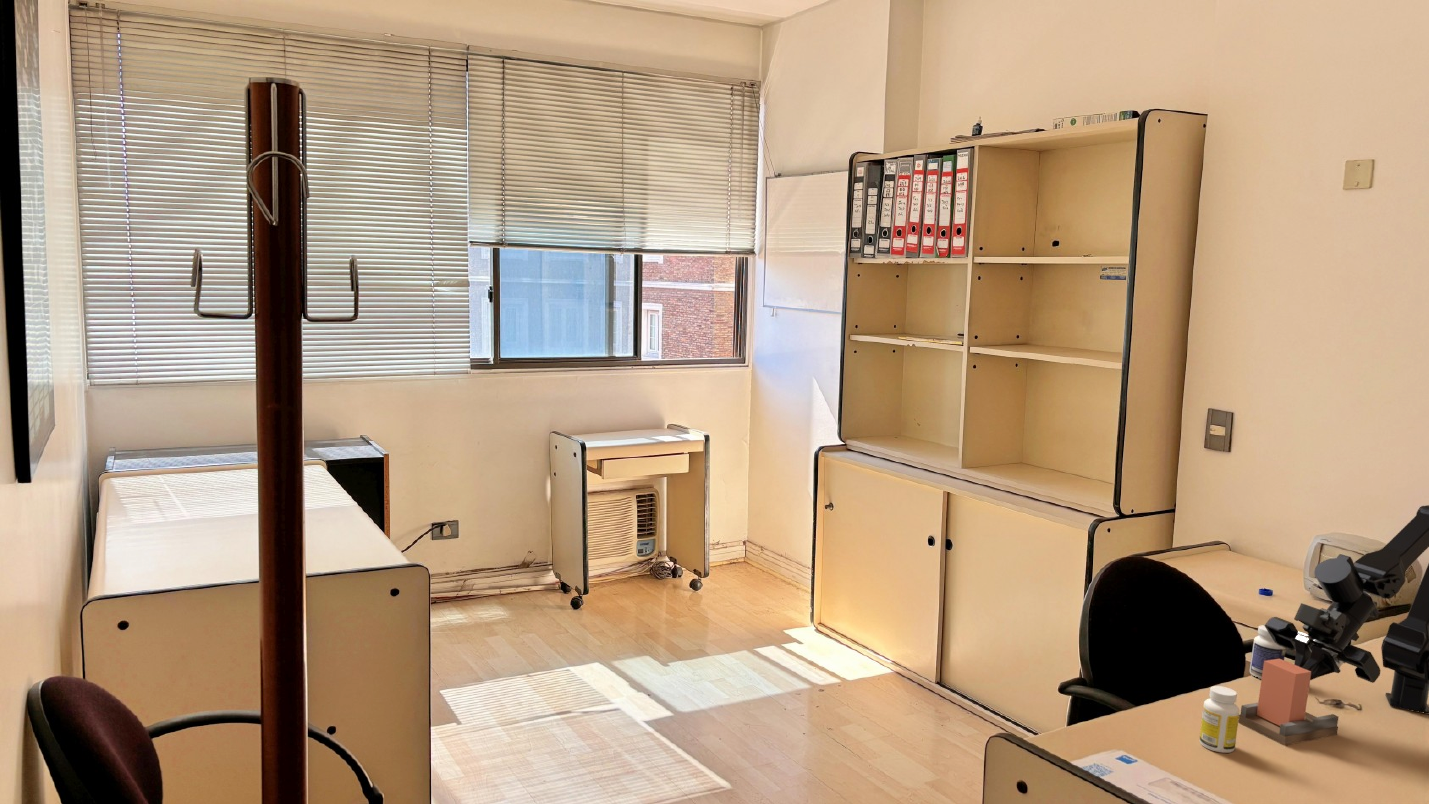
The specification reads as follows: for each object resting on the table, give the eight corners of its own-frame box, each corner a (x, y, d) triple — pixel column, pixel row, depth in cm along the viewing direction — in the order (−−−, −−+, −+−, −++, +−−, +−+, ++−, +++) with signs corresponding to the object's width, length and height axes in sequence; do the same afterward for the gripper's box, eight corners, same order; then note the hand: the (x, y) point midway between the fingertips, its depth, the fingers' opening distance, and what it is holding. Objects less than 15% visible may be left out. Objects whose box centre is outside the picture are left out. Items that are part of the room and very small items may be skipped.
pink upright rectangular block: (1272, 712, 181) (1279, 658, 179) (1303, 726, 175) (1311, 671, 174) (1256, 714, 179) (1264, 660, 178) (1287, 729, 174) (1295, 674, 172)
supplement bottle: (1231, 742, 172) (1239, 687, 170) (1236, 756, 166) (1244, 700, 165) (1196, 736, 173) (1204, 681, 172) (1200, 749, 168) (1208, 693, 167)
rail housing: (1289, 713, 185) (1292, 695, 185) (1336, 734, 177) (1339, 716, 177) (1238, 722, 180) (1240, 703, 179) (1284, 745, 172) (1287, 726, 171)
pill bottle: (1285, 684, 199) (1292, 635, 198) (1254, 680, 200) (1260, 631, 199) (1275, 673, 205) (1282, 625, 204) (1245, 669, 206) (1251, 622, 205)
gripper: (1278, 573, 186) (1228, 636, 183) (1380, 607, 169) (1326, 677, 166) (1301, 611, 190) (1252, 673, 187) (1402, 648, 173) (1351, 717, 170)
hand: (1293, 683), depth 177 cm, fingers closed, pressing on pink upright rectangular block
